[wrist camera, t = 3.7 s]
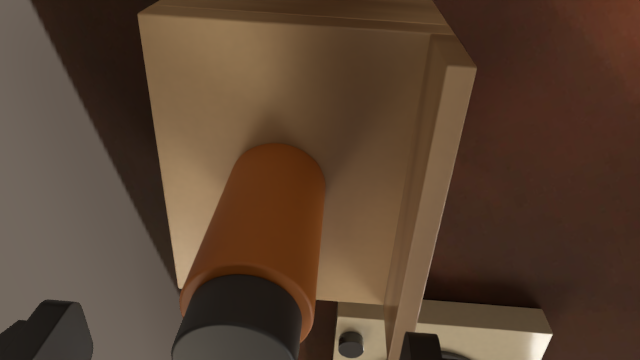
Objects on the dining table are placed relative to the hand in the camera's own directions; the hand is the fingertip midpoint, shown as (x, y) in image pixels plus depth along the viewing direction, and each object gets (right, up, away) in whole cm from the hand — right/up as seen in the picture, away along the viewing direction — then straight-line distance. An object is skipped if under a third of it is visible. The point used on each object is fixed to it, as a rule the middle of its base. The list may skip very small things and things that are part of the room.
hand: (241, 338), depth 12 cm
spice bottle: (0, +4, +6) cm, 7 cm away
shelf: (+1, +7, +12) cm, 14 cm away
